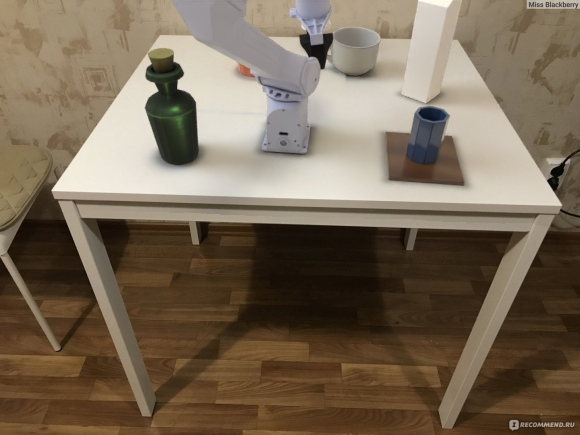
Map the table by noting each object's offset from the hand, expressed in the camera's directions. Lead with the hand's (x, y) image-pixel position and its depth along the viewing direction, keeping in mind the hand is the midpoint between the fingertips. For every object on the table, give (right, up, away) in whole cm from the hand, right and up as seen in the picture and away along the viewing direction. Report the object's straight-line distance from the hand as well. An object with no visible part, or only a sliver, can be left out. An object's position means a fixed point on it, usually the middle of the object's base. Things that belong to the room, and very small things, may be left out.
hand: (317, 55), depth 84 cm
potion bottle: (-24, -19, -4) cm, 31 cm away
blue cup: (+18, -19, -5) cm, 27 cm away
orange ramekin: (-12, +4, +21) cm, 24 cm away
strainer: (+1, +12, +30) cm, 33 cm away
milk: (+23, -4, +13) cm, 26 cm away
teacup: (+8, +4, +21) cm, 23 cm away
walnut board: (+18, -20, -5) cm, 27 cm away
